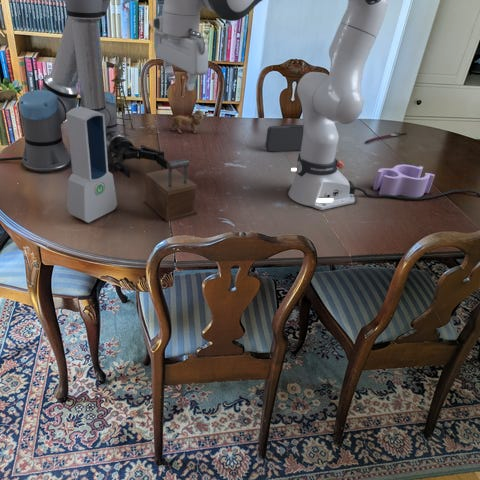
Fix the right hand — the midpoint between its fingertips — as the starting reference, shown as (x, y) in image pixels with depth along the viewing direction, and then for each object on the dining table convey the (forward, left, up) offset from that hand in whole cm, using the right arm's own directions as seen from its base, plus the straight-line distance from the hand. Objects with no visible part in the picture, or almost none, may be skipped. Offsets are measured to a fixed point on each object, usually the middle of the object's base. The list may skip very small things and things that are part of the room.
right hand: (179, 84), depth 119 cm
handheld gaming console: (-57, -43, -38) cm, 81 cm away
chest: (+1, -4, -38) cm, 38 cm away
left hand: (+5, -18, -32) cm, 37 cm away
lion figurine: (-19, -68, -38) cm, 80 cm away
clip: (-82, -3, -38) cm, 91 cm away
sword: (-109, -51, -38) cm, 126 cm away
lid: (+1, -4, -29) cm, 30 cm away
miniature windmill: (+8, -71, -38) cm, 81 cm away
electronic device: (+24, -5, -38) cm, 45 cm away
